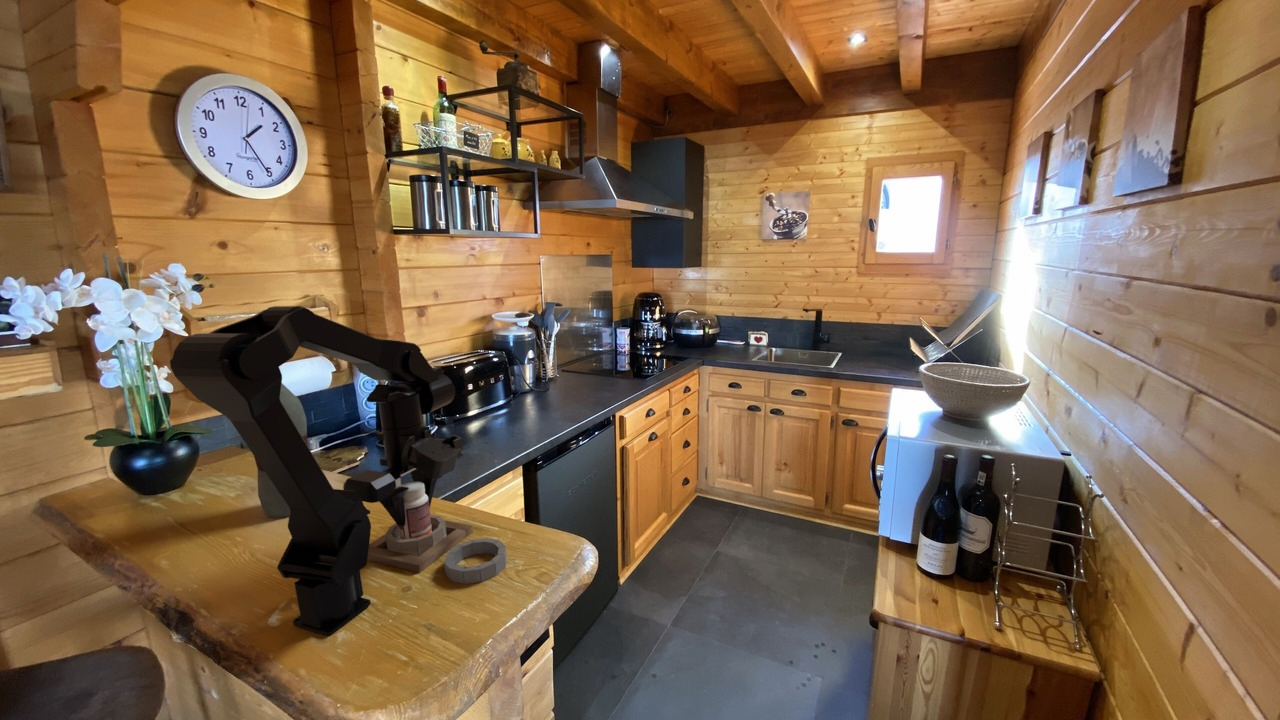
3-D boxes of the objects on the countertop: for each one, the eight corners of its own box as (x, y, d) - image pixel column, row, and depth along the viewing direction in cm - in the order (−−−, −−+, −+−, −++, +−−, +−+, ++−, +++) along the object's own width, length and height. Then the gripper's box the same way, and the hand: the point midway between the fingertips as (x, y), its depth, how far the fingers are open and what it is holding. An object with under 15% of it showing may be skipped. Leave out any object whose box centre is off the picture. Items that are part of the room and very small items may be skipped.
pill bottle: (437, 528, 86) (432, 480, 85) (422, 544, 81) (417, 493, 80) (409, 528, 87) (404, 480, 85) (393, 543, 82) (387, 492, 80)
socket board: (419, 572, 77) (417, 553, 76) (358, 558, 81) (355, 540, 81) (472, 532, 88) (471, 515, 87) (416, 521, 92) (414, 505, 92)
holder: (482, 588, 73) (481, 575, 72) (433, 577, 76) (432, 564, 75) (517, 555, 81) (516, 543, 80) (471, 546, 84) (470, 534, 83)
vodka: (329, 503, 100) (304, 348, 94) (275, 524, 93) (245, 357, 87) (305, 492, 105) (280, 344, 99) (252, 512, 98) (222, 353, 92)
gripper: (395, 450, 69) (409, 558, 72) (484, 410, 86) (492, 499, 89) (333, 442, 73) (349, 545, 76) (430, 405, 90) (439, 491, 93)
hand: (414, 518), depth 84 cm, fingers closed on pill bottle, 5 cm apart
